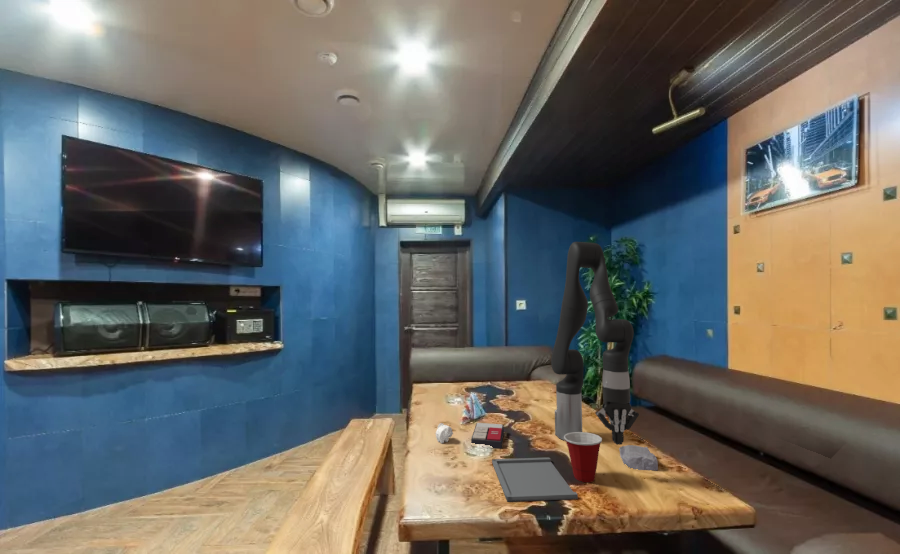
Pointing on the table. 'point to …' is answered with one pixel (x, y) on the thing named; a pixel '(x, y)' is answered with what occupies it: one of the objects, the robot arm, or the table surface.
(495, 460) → the grey tray
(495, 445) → the grey and red box
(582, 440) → the plastic cup
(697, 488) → the table surface
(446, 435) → the elephant figurine
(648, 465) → the stone block
